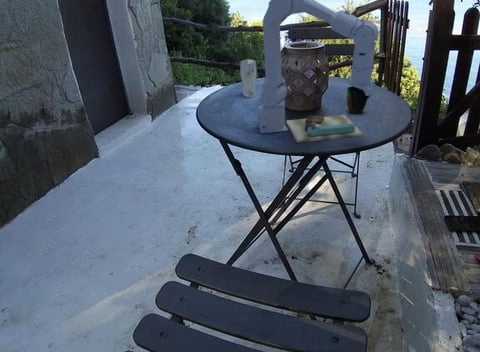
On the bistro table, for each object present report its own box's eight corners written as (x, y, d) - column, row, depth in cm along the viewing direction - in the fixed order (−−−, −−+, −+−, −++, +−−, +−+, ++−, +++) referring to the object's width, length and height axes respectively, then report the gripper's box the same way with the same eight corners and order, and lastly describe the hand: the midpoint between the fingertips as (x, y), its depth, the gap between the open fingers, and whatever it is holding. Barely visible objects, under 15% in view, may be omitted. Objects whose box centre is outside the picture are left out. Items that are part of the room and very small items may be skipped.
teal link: (309, 136, 121) (309, 125, 119) (306, 132, 124) (306, 121, 122) (356, 132, 122) (357, 120, 120) (352, 128, 125) (353, 116, 123)
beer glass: (239, 97, 164) (237, 63, 156) (244, 92, 169) (242, 59, 162) (255, 98, 162) (253, 63, 154) (259, 93, 167) (257, 59, 160)
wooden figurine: (351, 115, 138) (355, 75, 130) (343, 110, 143) (347, 71, 135) (367, 113, 139) (372, 73, 132) (359, 108, 144) (363, 69, 137)
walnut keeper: (320, 132, 125) (321, 121, 123) (304, 130, 127) (305, 119, 125) (323, 127, 128) (324, 116, 126) (308, 125, 130) (308, 115, 128)
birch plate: (297, 142, 121) (297, 139, 120) (286, 123, 136) (286, 120, 135) (362, 136, 122) (362, 133, 122) (344, 117, 137) (344, 115, 136)
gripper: (386, 72, 103) (379, 118, 109) (365, 60, 115) (360, 102, 122) (361, 74, 102) (356, 120, 109) (343, 62, 115) (340, 104, 121)
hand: (357, 110), depth 115 cm, fingers closed
